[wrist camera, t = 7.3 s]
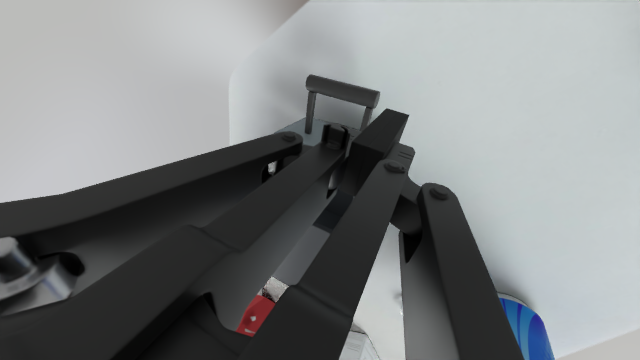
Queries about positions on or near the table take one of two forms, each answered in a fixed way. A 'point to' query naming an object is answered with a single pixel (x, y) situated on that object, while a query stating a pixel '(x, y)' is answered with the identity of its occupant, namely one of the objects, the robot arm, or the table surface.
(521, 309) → the beer can
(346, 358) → the white product box
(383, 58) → the table surface
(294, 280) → the drawer cabinet
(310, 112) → the sliding drawer
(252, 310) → the alarm clock
